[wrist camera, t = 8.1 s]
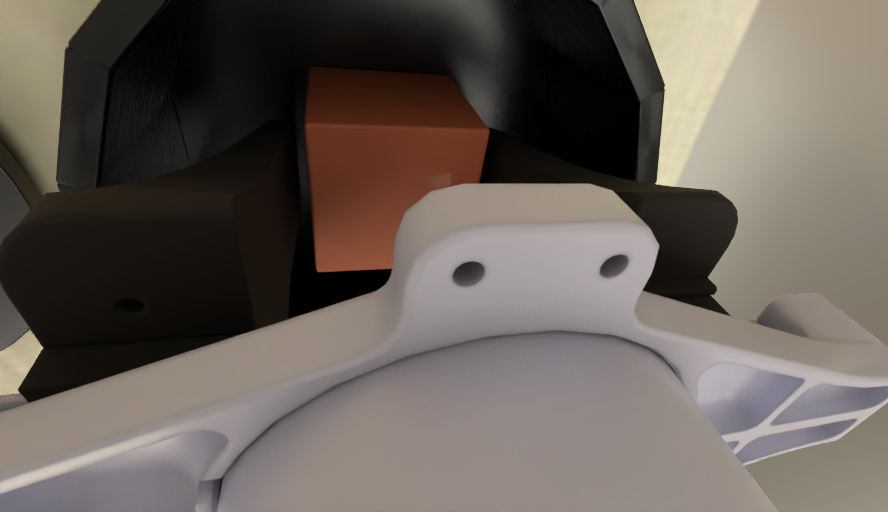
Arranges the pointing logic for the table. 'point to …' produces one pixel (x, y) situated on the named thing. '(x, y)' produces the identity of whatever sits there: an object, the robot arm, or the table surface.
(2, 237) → the lid
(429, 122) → the block
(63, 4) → the table surface
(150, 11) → the pot
